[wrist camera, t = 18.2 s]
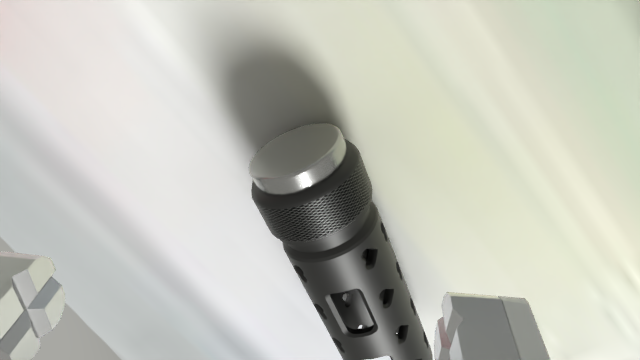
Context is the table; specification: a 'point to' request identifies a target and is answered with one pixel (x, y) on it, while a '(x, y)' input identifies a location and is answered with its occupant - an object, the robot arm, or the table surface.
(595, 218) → the table surface
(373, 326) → the dark grey cylinder
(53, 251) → the table surface
